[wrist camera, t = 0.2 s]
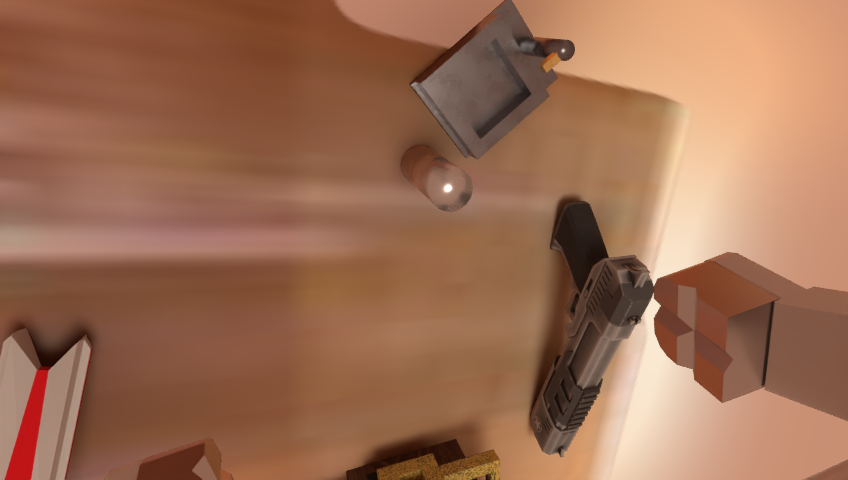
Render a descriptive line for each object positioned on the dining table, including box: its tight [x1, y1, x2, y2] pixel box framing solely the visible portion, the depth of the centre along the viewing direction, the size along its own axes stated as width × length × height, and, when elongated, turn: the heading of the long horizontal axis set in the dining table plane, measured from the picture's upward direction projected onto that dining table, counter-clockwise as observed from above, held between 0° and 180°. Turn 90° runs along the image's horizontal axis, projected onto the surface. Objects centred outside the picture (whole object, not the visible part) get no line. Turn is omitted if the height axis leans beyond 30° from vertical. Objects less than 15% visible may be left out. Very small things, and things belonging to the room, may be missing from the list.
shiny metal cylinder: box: [401, 145, 473, 212], centre depth 55 cm, size 4×4×10 cm
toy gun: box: [0, 328, 92, 480], centre depth 55 cm, size 7×28×15 cm, turn 162°
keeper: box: [410, 0, 575, 160], centre depth 55 cm, size 10×13×8 cm
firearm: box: [531, 201, 654, 457], centre depth 69 cm, size 4×33×15 cm, turn 179°
